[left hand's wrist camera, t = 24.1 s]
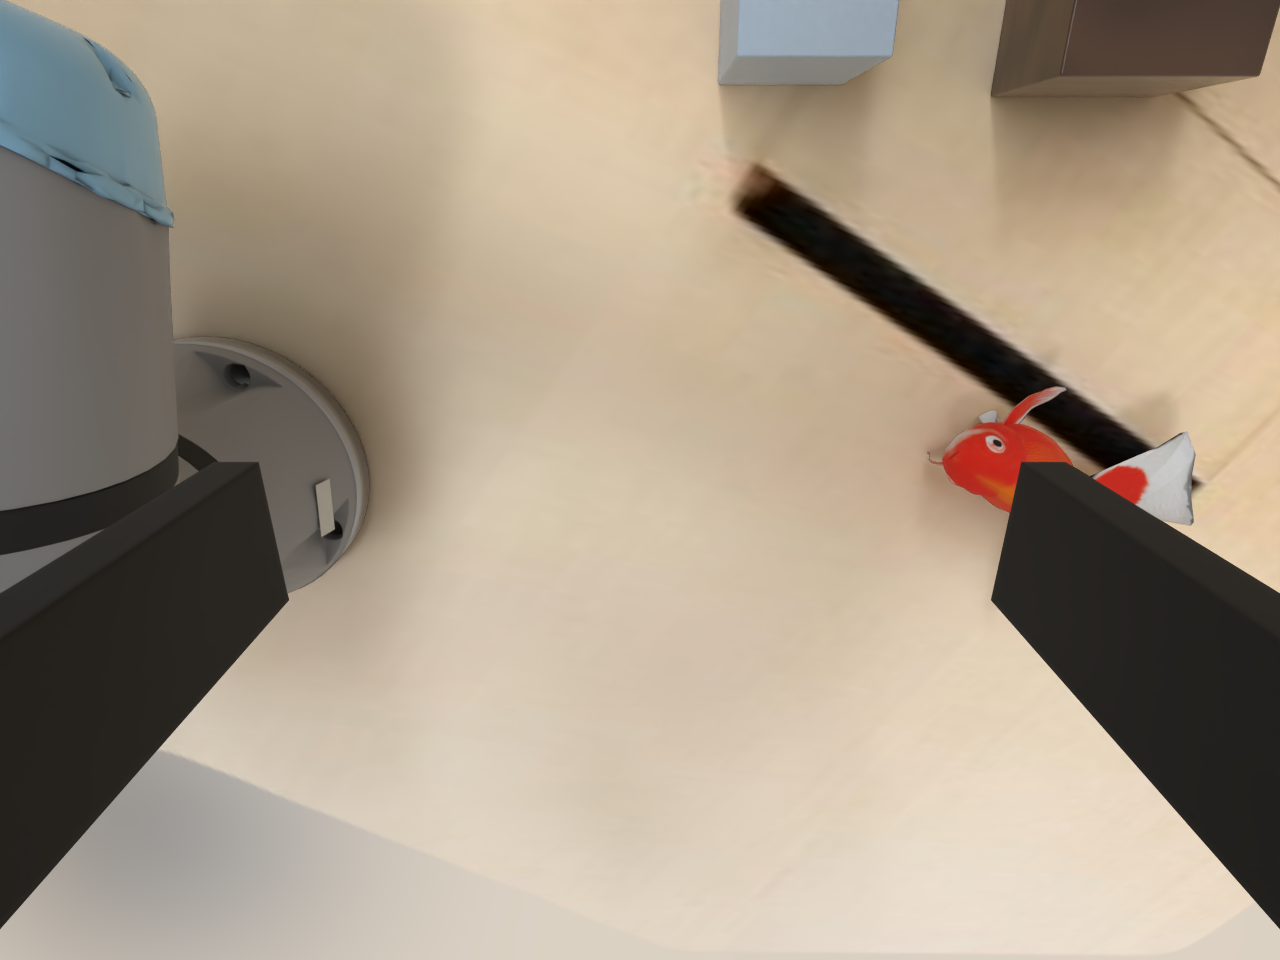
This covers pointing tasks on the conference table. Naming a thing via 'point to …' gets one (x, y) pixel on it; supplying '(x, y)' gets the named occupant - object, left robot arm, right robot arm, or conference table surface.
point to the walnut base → (1129, 46)
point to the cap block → (803, 40)
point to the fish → (998, 448)
